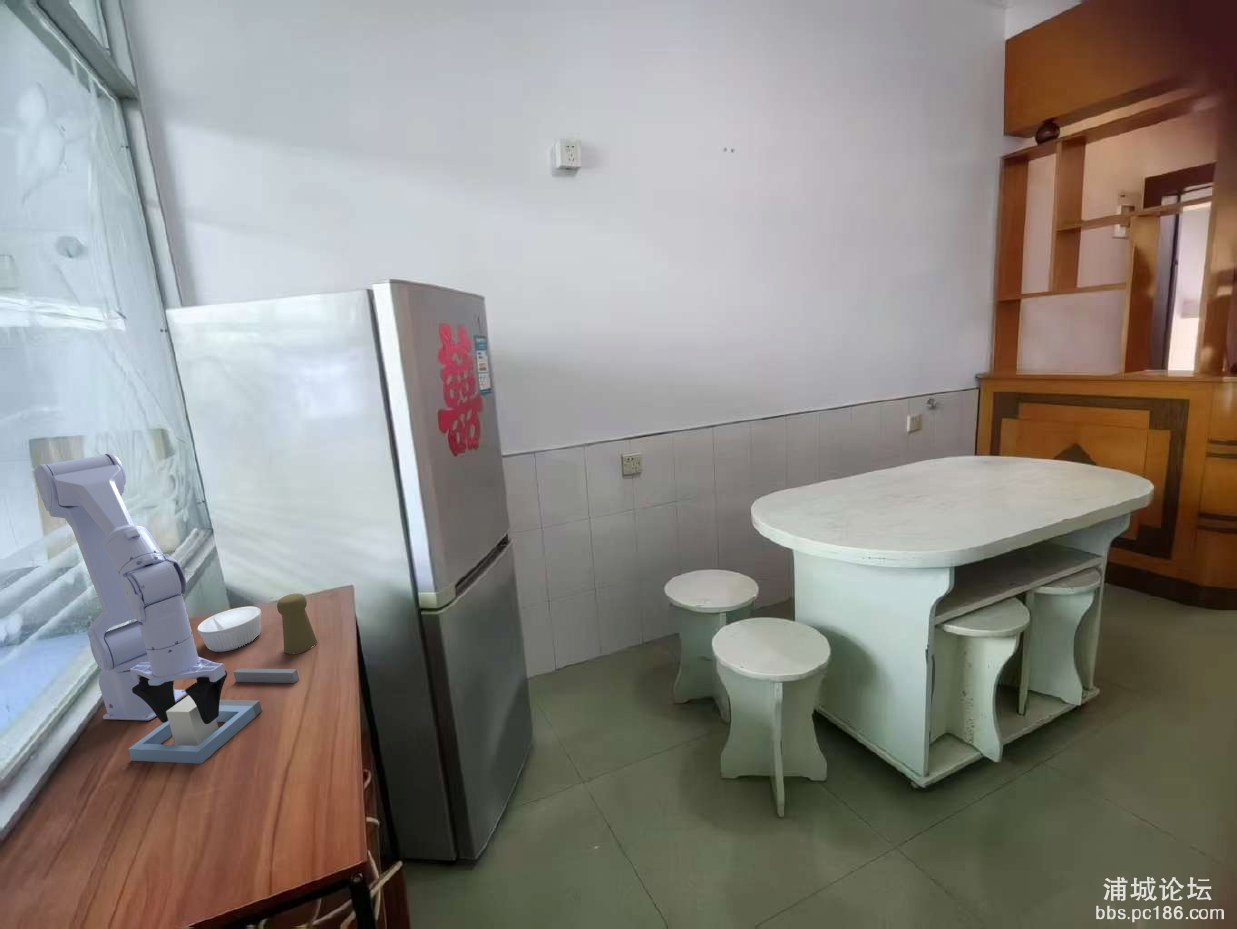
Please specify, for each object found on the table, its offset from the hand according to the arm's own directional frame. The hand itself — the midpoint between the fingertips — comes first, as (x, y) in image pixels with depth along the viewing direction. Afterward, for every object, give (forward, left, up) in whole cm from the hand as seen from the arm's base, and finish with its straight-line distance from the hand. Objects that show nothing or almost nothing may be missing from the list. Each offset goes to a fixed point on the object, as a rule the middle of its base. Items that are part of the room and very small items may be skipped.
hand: (190, 719), depth 91 cm
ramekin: (-19, +30, -4) cm, 35 cm away
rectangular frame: (0, +6, -3) cm, 6 cm away
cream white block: (0, 0, -3) cm, 4 cm away
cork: (-2, +28, -4) cm, 28 cm away
